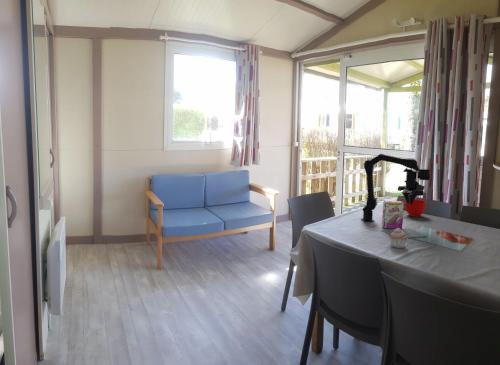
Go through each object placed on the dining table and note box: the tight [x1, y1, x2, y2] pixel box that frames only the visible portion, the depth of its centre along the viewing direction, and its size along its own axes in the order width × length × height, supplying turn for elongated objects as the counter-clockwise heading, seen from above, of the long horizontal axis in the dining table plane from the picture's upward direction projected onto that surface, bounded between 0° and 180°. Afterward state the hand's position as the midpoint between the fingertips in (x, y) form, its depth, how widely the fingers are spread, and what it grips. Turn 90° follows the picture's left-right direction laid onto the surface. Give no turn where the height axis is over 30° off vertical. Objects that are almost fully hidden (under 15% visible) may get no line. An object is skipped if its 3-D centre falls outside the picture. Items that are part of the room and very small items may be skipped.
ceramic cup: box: [403, 199, 427, 218], centre depth 265 cm, size 13×17×10 cm
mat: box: [381, 227, 427, 239], centre depth 224 cm, size 16×18×1 cm
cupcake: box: [388, 228, 409, 249], centre depth 201 cm, size 9×9×10 cm
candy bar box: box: [381, 200, 405, 230], centre depth 234 cm, size 11×5×16 cm, turn 84°
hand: (409, 204), depth 241 cm, fingers open, 3 cm apart
